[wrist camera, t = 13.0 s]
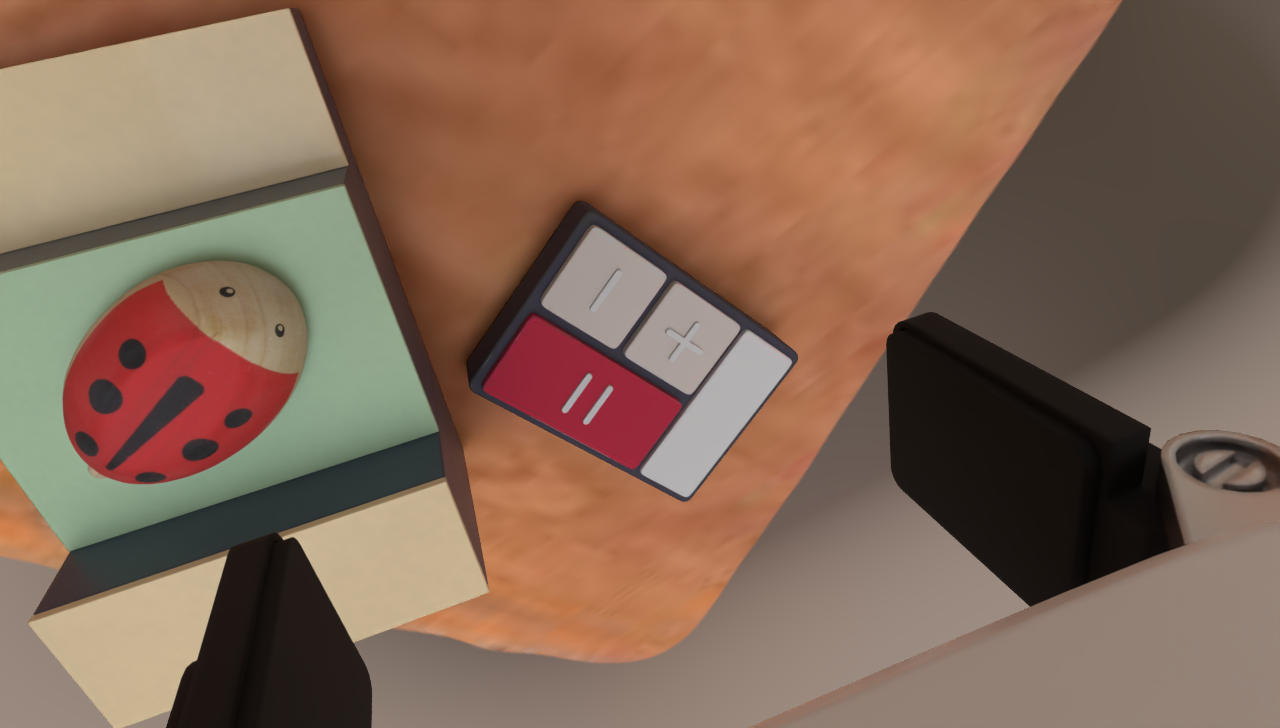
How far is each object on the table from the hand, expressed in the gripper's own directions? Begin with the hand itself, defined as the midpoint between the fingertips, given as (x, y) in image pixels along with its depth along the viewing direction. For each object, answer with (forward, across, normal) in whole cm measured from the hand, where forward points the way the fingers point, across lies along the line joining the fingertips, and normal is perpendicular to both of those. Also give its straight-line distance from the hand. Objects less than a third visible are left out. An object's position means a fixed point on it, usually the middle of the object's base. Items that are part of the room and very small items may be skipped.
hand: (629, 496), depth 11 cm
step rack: (+28, +12, +4) cm, 31 cm away
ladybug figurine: (+20, +12, +3) cm, 24 cm away
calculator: (+28, -6, +12) cm, 32 cm away
